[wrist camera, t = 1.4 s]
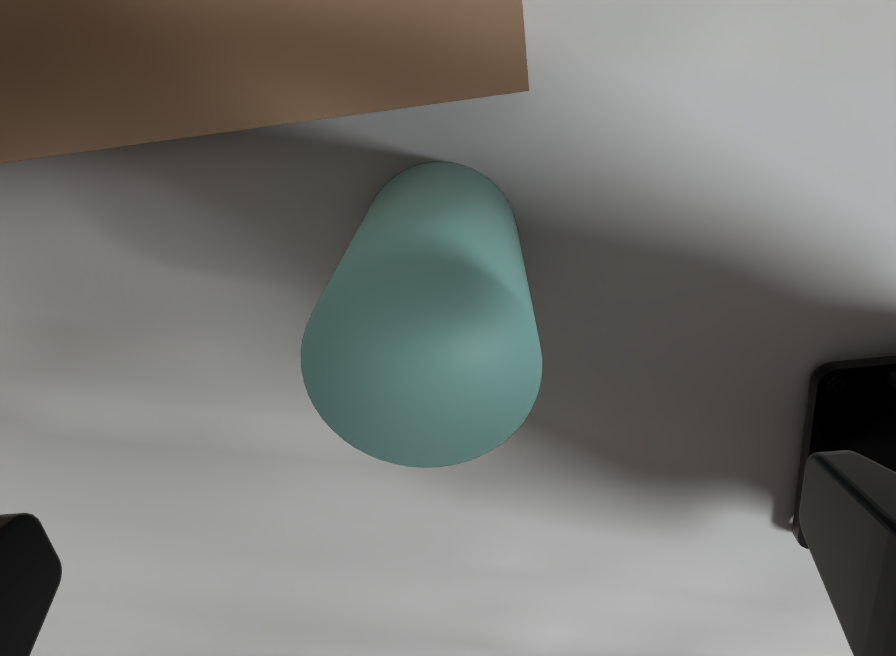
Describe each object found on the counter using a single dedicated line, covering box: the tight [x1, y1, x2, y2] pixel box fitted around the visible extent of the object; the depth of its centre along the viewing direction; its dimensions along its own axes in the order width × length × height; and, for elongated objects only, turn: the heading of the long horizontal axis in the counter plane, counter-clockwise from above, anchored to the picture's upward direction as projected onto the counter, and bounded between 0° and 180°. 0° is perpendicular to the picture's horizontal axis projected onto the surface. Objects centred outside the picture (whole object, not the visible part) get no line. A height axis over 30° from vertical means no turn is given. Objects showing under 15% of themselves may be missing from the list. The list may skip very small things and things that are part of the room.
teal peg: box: [301, 162, 542, 467], centre depth 14 cm, size 4×4×7 cm
